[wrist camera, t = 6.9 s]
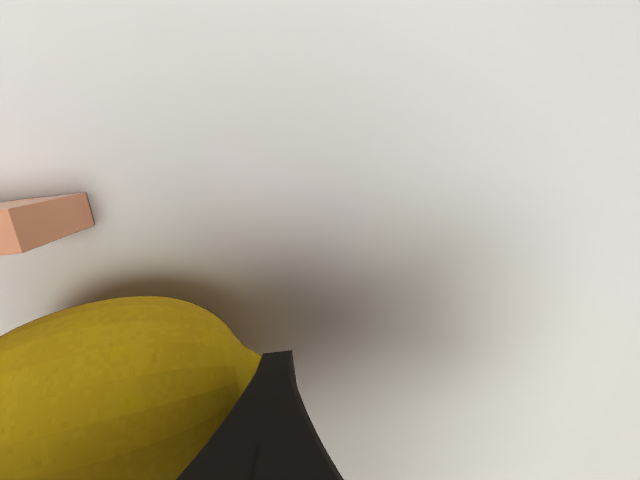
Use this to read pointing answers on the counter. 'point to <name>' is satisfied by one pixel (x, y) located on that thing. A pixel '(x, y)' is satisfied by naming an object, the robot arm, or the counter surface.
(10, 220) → the terracotta bay
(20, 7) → the counter surface
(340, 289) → the counter surface
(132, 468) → the lemon
